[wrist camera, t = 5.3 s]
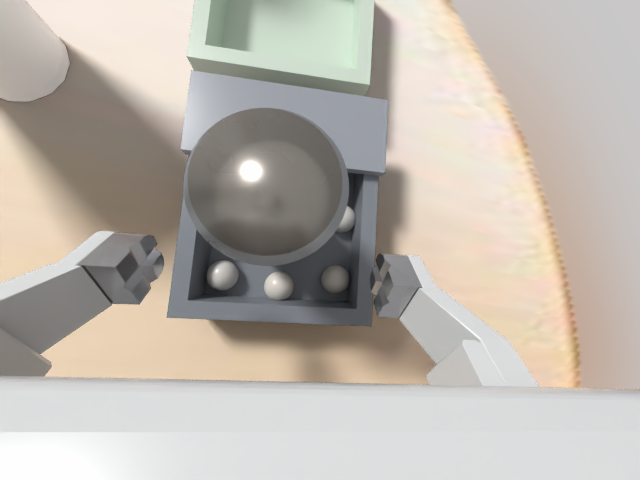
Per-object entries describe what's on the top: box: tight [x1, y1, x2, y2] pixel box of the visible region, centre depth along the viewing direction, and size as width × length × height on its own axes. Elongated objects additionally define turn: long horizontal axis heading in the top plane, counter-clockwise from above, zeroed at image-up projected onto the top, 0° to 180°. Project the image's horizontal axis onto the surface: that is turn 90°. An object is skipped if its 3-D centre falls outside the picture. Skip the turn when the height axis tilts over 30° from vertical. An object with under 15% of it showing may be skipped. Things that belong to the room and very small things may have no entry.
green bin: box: [187, 0, 374, 96], centre depth 17 cm, size 12×12×4 cm
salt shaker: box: [183, 108, 349, 266], centre depth 11 cm, size 5×5×10 cm
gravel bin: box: [167, 70, 388, 326], centre depth 15 cm, size 12×15×4 cm
